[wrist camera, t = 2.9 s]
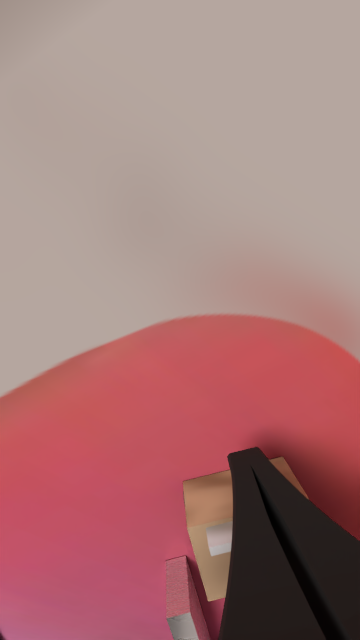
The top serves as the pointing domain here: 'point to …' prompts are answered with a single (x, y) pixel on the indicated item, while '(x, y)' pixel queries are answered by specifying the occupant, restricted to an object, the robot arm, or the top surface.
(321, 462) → the top surface
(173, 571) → the bay
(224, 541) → the tan box with handle
